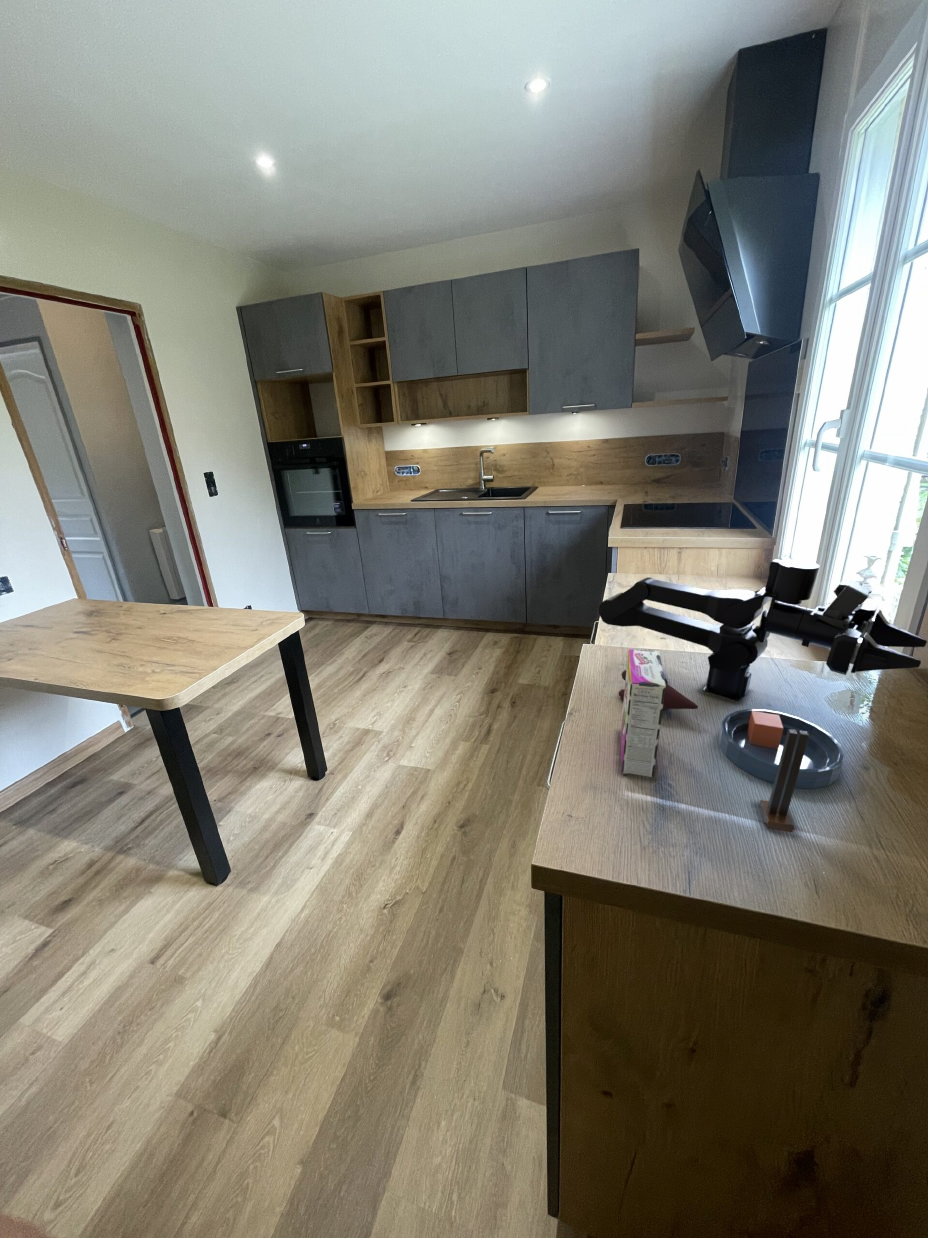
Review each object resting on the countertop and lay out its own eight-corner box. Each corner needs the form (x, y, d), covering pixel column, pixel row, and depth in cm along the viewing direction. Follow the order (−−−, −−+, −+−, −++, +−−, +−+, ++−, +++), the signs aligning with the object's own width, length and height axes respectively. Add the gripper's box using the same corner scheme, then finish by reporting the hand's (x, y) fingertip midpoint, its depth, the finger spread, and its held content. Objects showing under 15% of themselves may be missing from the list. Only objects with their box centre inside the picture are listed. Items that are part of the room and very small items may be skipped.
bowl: (705, 759, 77) (708, 741, 76) (734, 715, 88) (738, 698, 87) (829, 808, 67) (835, 788, 65) (844, 751, 78) (850, 733, 76)
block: (750, 744, 79) (754, 723, 78) (747, 730, 83) (751, 710, 81) (778, 749, 78) (783, 728, 76) (774, 735, 81) (779, 715, 80)
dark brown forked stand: (758, 806, 67) (779, 721, 62) (783, 810, 67) (806, 724, 61) (766, 828, 64) (789, 739, 59) (792, 832, 63) (818, 743, 58)
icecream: (709, 685, 86) (632, 664, 97) (691, 690, 81) (612, 667, 92) (703, 722, 87) (627, 697, 98) (684, 729, 82) (607, 702, 93)
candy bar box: (618, 733, 84) (627, 647, 78) (649, 737, 83) (660, 650, 77) (619, 775, 74) (630, 681, 68) (654, 780, 73) (668, 685, 67)
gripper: (801, 593, 74) (939, 622, 63) (828, 567, 86) (948, 587, 75) (782, 658, 78) (908, 695, 68) (810, 624, 90) (921, 651, 80)
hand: (923, 653), depth 73 cm, fingers open, 9 cm apart
